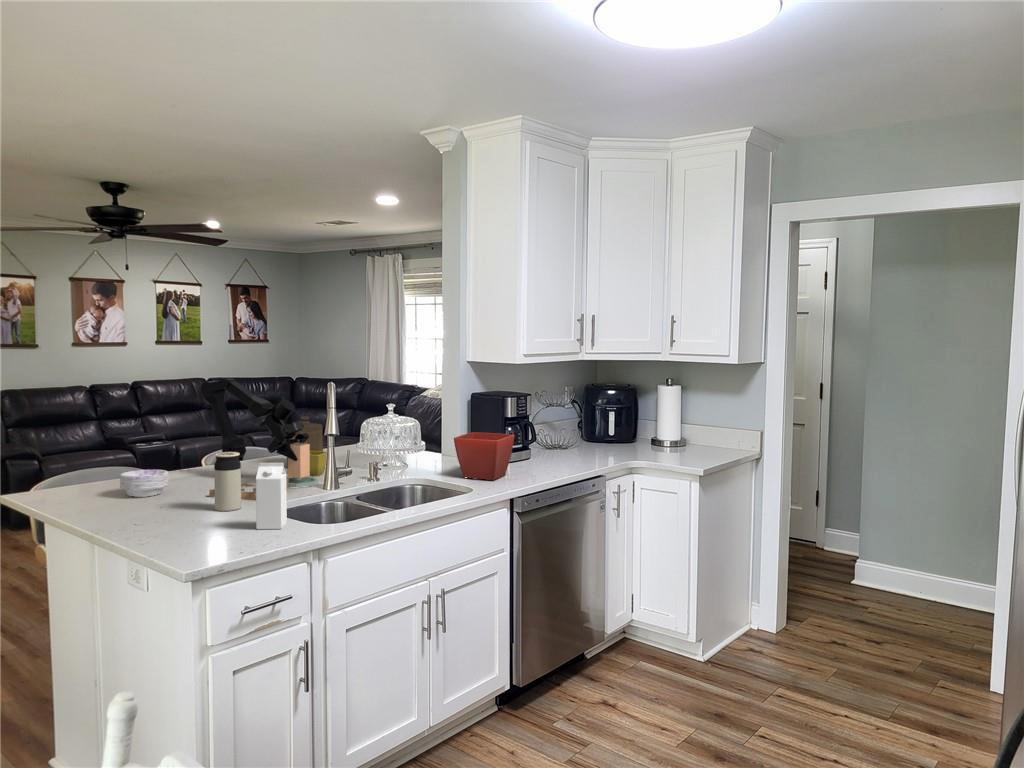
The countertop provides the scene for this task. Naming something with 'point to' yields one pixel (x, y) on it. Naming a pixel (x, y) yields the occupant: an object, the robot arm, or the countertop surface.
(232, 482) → the travel mug
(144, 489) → the paper bowls
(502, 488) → the countertop surface
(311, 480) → the saucer
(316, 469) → the flower pot
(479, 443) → the plant pot
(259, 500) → the milk carton
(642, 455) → the countertop surface
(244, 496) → the brown flat frame
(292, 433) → the robot arm
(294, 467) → the long pot
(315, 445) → the wooden container
